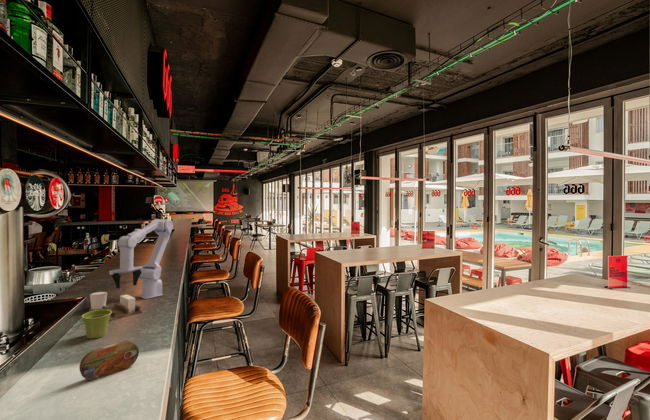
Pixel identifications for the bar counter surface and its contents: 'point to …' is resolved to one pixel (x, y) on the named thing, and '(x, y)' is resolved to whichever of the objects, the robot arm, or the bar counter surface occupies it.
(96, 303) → the shot glass
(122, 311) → the rack
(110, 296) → the bar counter surface
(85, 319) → the plant pot
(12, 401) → the bar counter surface
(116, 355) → the tin
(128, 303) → the cream rectangular block
